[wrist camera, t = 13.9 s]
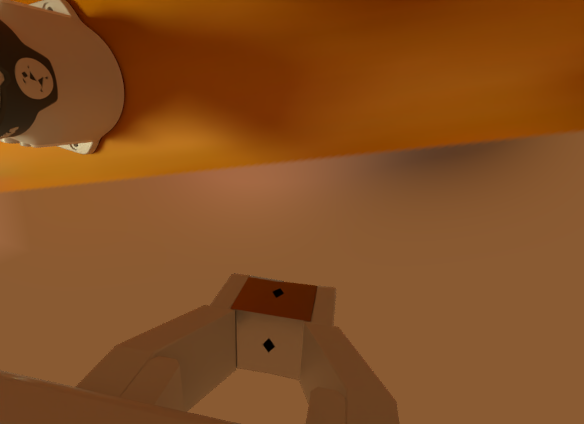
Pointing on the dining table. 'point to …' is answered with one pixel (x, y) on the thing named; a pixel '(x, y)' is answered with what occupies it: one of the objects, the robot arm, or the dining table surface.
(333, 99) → the dining table surface
